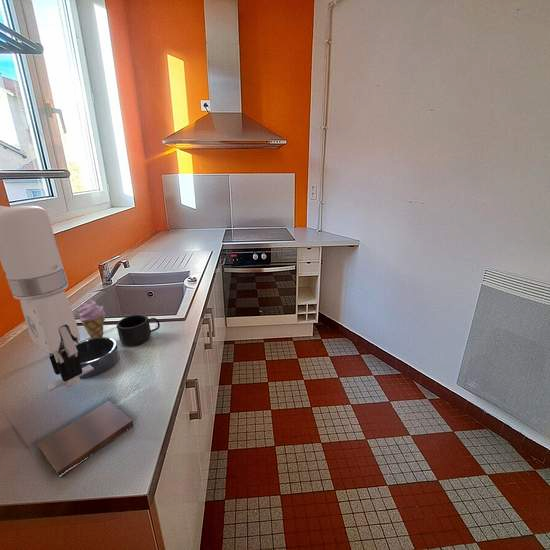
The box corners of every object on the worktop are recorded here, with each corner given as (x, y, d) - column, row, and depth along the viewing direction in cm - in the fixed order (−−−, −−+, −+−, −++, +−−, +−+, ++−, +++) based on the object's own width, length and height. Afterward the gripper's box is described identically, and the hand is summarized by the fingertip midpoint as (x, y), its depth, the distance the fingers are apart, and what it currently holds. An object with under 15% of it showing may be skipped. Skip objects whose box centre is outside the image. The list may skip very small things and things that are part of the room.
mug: (122, 352, 89) (117, 331, 87) (119, 338, 97) (115, 319, 94) (164, 340, 95) (160, 320, 93) (158, 328, 102) (155, 309, 100)
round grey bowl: (79, 387, 76) (74, 371, 74) (59, 369, 83) (54, 353, 81) (128, 361, 85) (124, 346, 83) (106, 347, 92) (102, 332, 91)
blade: (51, 396, 53) (39, 361, 51) (46, 390, 55) (33, 356, 52) (96, 373, 59) (86, 340, 57) (90, 368, 61) (80, 336, 58)
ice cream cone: (109, 337, 98) (99, 294, 93) (115, 344, 93) (104, 300, 88) (86, 345, 94) (73, 301, 88) (91, 353, 89) (78, 308, 84)
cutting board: (59, 478, 53) (57, 472, 53) (39, 449, 59) (36, 444, 58) (134, 425, 64) (132, 420, 63) (110, 405, 70) (109, 400, 69)
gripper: (-4, 280, 52) (29, 368, 58) (29, 302, 43) (64, 404, 49) (47, 268, 57) (72, 350, 64) (85, 285, 48) (110, 378, 55)
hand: (68, 372), depth 56 cm, fingers closed on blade, 2 cm apart
